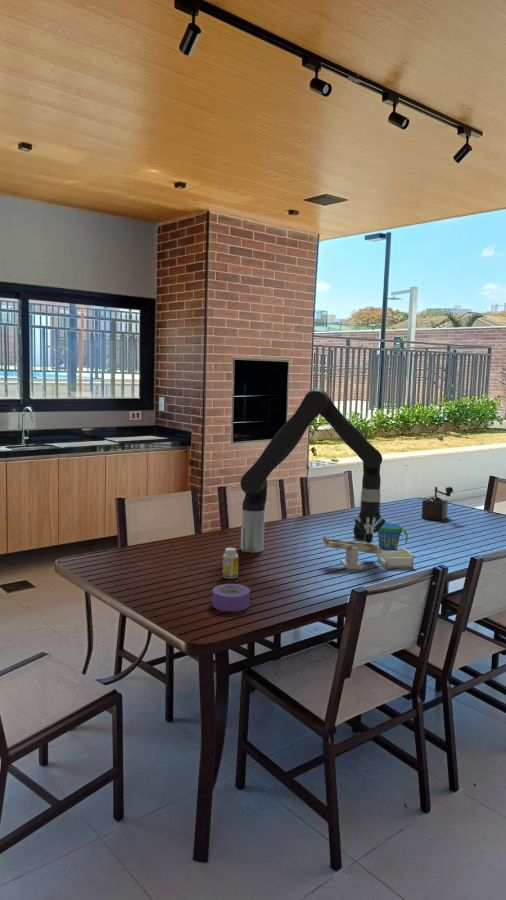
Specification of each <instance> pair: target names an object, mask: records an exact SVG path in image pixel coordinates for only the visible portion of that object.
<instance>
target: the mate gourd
mask: <svg viewBox="0 0 506 900" xmlns="http://www.w3.org/2000/svg"><path fill="white" fill-rule="evenodd" d="M360 521H361V522H360V524H361V525H362V527H363V528H364V523H363V522H362V520H361V519H360ZM353 535H354V537H356V538H357V539H365V533H364V532H362V531H361V530H360V529H359V527H358V526H357V525H356V523H355V522H354V528H353Z"/></svg>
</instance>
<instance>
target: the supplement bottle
mask: <svg viewBox="0 0 506 900" xmlns="http://www.w3.org/2000/svg"><path fill="white" fill-rule="evenodd" d="M222 576H223V578H224V579H229V580H230V579H231V580H232V579H236V578H237V579H238V577H239V554H238V553H237V548H235V547H227V548H225V549H224V553H223V554H222Z"/></svg>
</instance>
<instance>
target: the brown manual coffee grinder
mask: <svg viewBox="0 0 506 900" xmlns="http://www.w3.org/2000/svg"><path fill="white" fill-rule="evenodd" d="M453 492H454V489H453V487H452V486H447V487H445V492H443V491H440V490H438V486H435V487H434V496H432V497H429V498H426V499H422V504H421V505H422V506H421V519H425V520H432V521H438V522H439V521H444V520H446V519H447V518H448V507H449V506H448V505H449V501H448V500H446V499H442V498H440V497H438V495H437V493H438V494H442V495H445V496H446V497H451V496H452V495H451V494H452V493H453Z"/></svg>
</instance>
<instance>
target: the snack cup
mask: <svg viewBox="0 0 506 900" xmlns="http://www.w3.org/2000/svg"><path fill="white" fill-rule="evenodd" d="M402 531H403V533H404V534H405V537H406V538H405V542H404V544H407V542H408V539H409V538H408V536H409V535H408V532H407V530H406V529H405V528H403V526H402V525H400V524H397V523H392V522H385V523H384V524H383V526H382V527H381V528H380V529H379V530H378V532H377V537H378V539H377V541H378V548H379V549H382V551H398V546H399V541H400V537H401V534H402Z"/></svg>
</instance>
